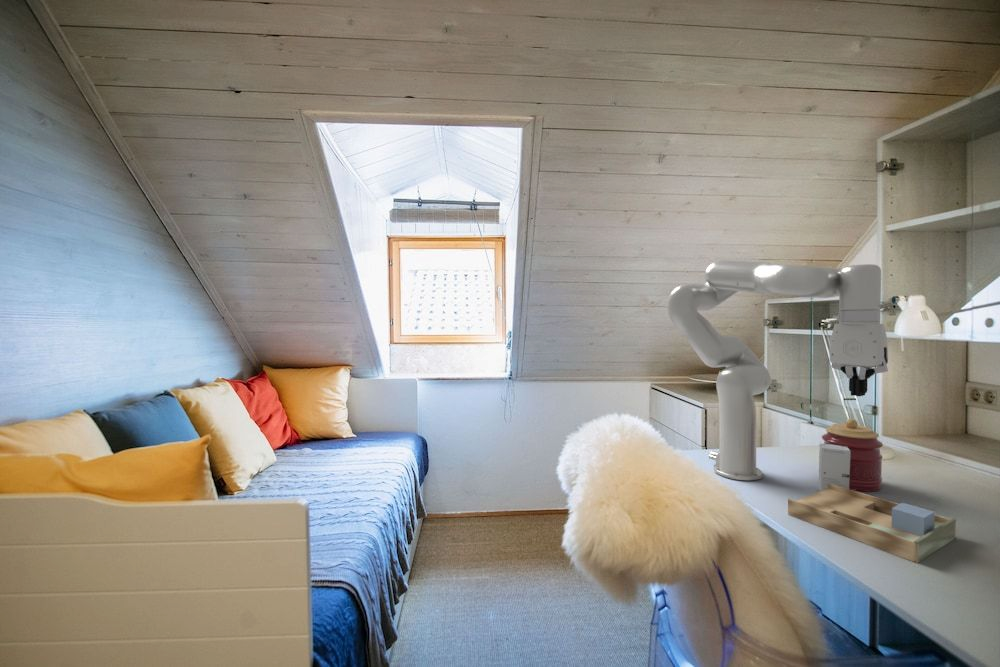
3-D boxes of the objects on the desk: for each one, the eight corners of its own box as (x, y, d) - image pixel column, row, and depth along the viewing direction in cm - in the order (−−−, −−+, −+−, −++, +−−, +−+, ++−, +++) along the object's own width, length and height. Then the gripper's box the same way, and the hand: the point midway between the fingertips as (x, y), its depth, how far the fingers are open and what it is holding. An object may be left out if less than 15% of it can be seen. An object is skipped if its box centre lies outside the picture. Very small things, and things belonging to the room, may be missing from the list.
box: (787, 514, 102) (788, 497, 102) (828, 497, 110) (829, 482, 110) (917, 563, 82) (917, 542, 82) (955, 538, 90) (955, 519, 90)
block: (891, 527, 90) (891, 508, 90) (902, 521, 93) (902, 502, 92) (923, 537, 86) (924, 517, 86) (934, 531, 88) (934, 511, 88)
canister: (844, 471, 127) (845, 411, 127) (894, 489, 115) (896, 422, 114) (809, 477, 124) (810, 415, 123) (857, 495, 112) (858, 426, 111)
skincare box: (820, 493, 113) (820, 447, 112) (817, 487, 117) (818, 442, 116) (850, 498, 110) (851, 450, 109) (846, 491, 114) (847, 445, 113)
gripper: (815, 318, 108) (814, 392, 109) (891, 318, 94) (890, 402, 95) (831, 317, 111) (830, 389, 112) (907, 317, 98) (905, 398, 99)
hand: (857, 395), depth 104 cm, fingers closed
